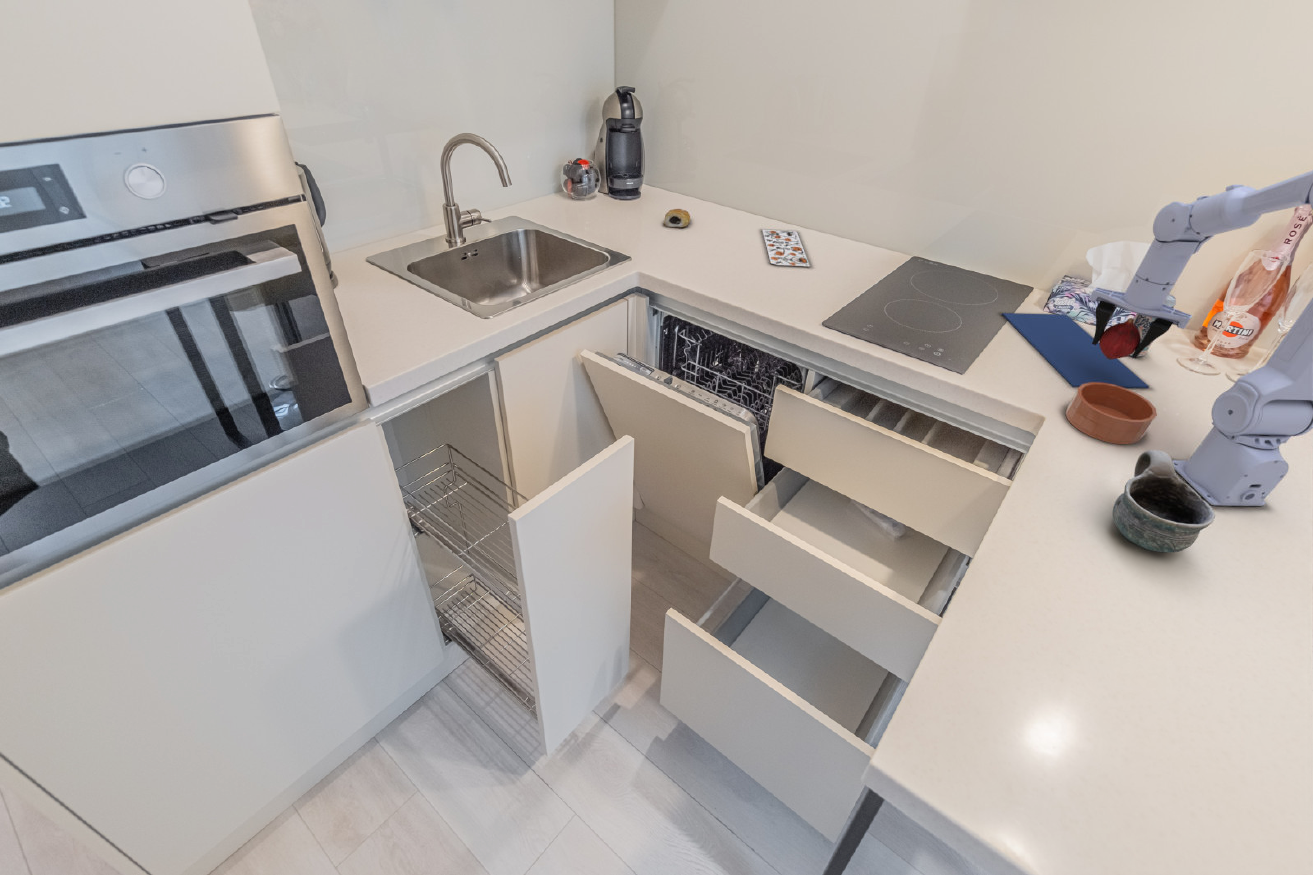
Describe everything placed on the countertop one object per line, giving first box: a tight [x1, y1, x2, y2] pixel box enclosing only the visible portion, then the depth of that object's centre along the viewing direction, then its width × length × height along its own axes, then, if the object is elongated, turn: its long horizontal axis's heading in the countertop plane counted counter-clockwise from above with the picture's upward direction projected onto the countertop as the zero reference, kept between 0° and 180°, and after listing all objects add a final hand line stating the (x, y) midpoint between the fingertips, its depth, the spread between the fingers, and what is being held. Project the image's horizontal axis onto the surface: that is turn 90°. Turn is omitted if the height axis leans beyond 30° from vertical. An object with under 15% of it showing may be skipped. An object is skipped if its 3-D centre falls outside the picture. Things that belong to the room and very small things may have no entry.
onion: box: [1098, 317, 1140, 359], centre depth 110 cm, size 6×6×8 cm
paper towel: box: [761, 229, 811, 267], centre depth 160 cm, size 24×1×9 cm
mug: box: [1111, 449, 1216, 553], centre depth 81 cm, size 10×12×10 cm
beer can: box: [1128, 293, 1177, 358], centre depth 119 cm, size 5×5×12 cm
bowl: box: [1065, 382, 1158, 445], centre depth 102 cm, size 11×11×4 cm
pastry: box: [663, 208, 691, 228], centre depth 171 cm, size 9×7×4 cm
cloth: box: [1002, 312, 1150, 389], centre depth 123 cm, size 28×14×1 cm, turn 1°
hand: (1114, 349), depth 111 cm, fingers closed on onion, 6 cm apart
